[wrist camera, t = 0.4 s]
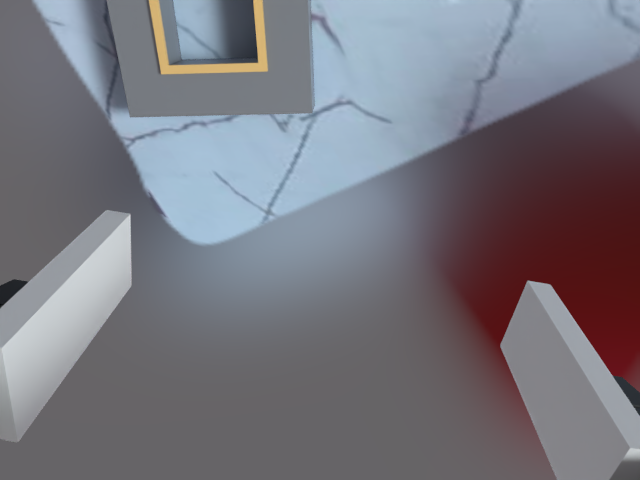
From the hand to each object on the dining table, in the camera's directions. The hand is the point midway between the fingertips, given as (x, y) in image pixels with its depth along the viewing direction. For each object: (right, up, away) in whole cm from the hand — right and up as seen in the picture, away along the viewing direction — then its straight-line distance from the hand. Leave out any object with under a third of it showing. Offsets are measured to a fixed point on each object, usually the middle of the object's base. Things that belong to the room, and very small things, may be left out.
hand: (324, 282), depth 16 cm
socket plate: (-8, +18, +21) cm, 29 cm away
